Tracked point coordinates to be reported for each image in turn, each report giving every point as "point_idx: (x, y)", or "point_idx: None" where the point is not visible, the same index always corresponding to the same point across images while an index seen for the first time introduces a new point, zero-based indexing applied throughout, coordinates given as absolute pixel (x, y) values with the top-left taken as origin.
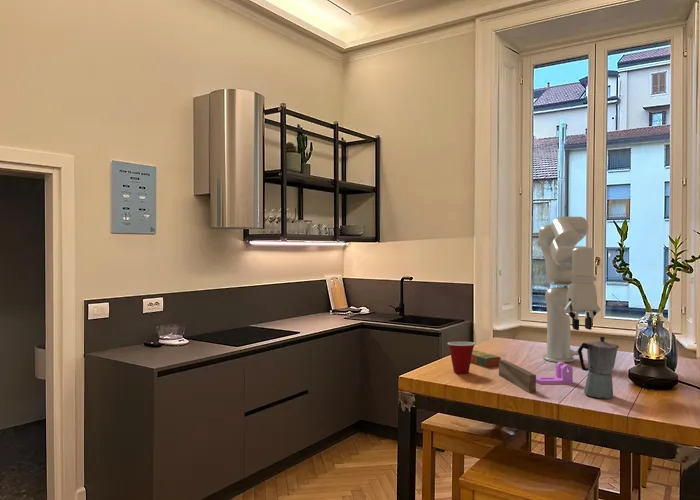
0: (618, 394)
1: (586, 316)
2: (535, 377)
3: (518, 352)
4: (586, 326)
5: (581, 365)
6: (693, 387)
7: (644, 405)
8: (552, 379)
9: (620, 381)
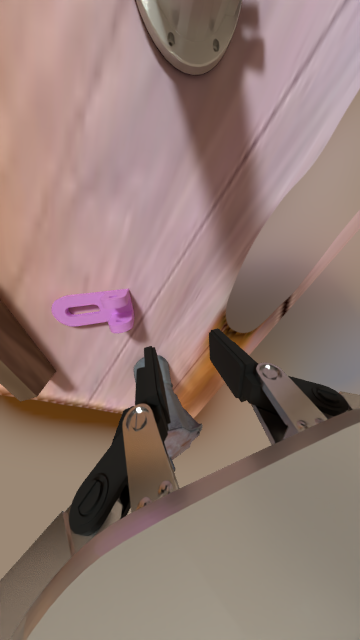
0: (178, 358)
1: (258, 375)
2: (38, 393)
3: None
4: (214, 347)
5: (120, 421)
6: (278, 320)
7: (185, 387)
8: (94, 315)
9: (217, 298)
